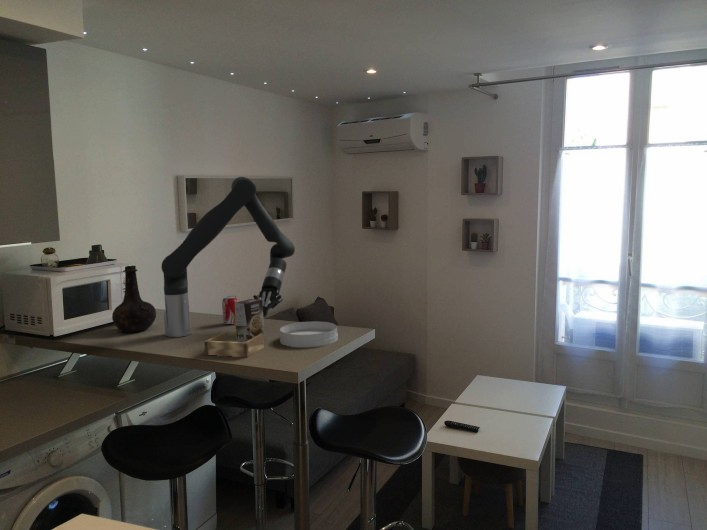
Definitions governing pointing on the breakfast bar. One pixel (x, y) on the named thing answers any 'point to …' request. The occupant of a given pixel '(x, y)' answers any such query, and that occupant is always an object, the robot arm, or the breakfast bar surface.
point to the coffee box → (249, 319)
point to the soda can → (229, 309)
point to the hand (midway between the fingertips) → (262, 316)
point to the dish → (308, 334)
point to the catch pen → (233, 346)
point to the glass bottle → (133, 306)
